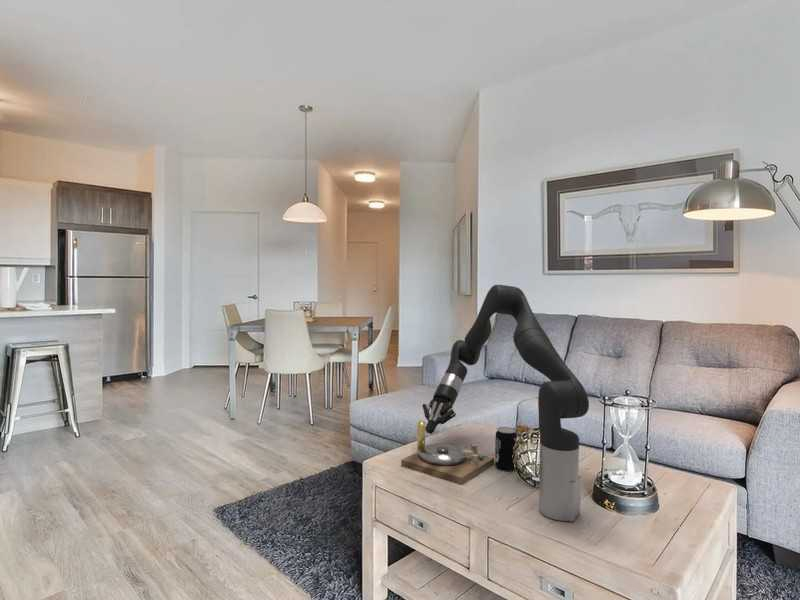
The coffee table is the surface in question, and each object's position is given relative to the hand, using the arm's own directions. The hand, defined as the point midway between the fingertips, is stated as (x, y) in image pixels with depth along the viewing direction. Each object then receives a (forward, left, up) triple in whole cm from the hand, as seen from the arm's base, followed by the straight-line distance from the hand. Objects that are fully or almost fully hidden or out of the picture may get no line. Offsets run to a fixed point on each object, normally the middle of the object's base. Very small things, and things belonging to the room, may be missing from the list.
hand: (428, 432), depth 156 cm
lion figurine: (-26, -28, -8) cm, 39 cm away
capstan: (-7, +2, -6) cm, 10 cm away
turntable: (-9, +2, -8) cm, 12 cm away
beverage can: (-24, -8, -8) cm, 27 cm away
